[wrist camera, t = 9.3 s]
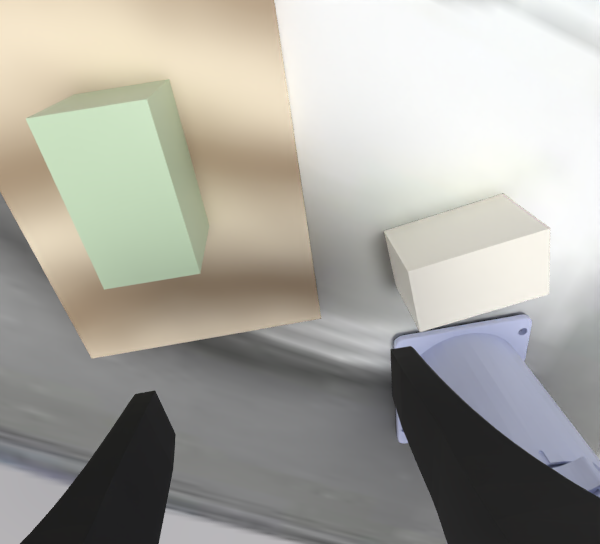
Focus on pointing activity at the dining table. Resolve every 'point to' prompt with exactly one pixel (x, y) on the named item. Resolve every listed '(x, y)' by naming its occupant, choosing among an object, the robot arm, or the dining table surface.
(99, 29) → the birch board
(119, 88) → the green brick
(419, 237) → the ivory brick
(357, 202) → the dining table surface
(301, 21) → the dining table surface
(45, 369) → the dining table surface
